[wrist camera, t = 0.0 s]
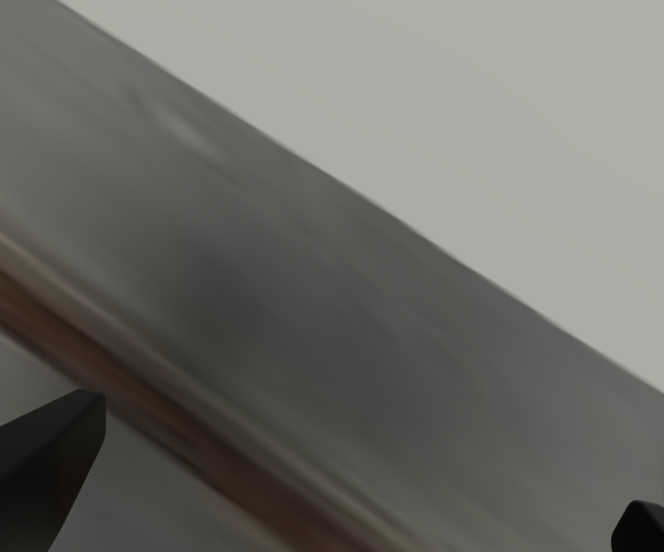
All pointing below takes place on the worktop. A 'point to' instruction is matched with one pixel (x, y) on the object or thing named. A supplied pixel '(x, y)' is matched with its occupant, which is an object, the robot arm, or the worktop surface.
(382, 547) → the worktop surface
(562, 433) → the worktop surface
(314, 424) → the worktop surface
